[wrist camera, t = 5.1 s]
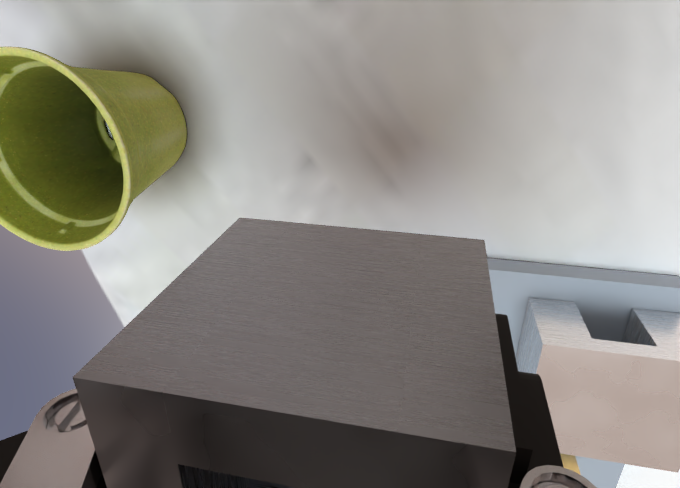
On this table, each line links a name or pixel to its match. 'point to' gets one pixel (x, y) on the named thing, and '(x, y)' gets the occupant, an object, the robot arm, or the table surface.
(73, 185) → the plant pot
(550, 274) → the assembly board
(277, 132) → the table surface
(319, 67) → the table surface
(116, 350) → the block
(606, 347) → the housing cover
